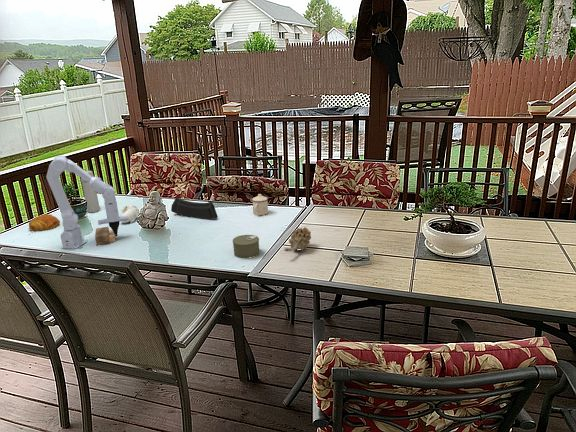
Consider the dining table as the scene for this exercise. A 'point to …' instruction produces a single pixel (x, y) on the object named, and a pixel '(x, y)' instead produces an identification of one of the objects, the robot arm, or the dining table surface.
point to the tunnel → (102, 236)
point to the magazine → (194, 209)
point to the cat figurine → (130, 213)
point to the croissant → (43, 222)
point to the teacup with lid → (260, 205)
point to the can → (246, 246)
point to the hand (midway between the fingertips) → (116, 235)
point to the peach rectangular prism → (111, 236)
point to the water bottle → (90, 195)
